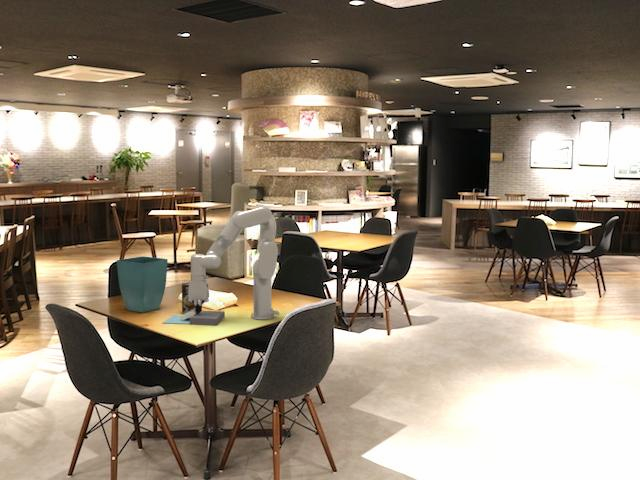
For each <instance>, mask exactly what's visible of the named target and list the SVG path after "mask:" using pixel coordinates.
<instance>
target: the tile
mask: <svg viewBox="0 0 640 480" xmlns="http://www.w3.org/2000/svg"><path fill="white" fill-rule="evenodd" d="M195 314H196V311H195V309H193V310H191V311H189V312H187V313H185V314H182V316H181V317H180V318H181V320H182V321H183V320H185V319H187V318H189V317H191V316H193V315H195Z"/></svg>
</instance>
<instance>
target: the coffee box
mask: <svg viewBox="0 0 640 480" xmlns="http://www.w3.org/2000/svg"><path fill="white" fill-rule="evenodd" d="M188 289H189V282H182V283H181V314H182V315H183V314H185V313H187V312H189V311H191V310H193V309H195V305H194V303H193V302H190V301H188V299H189V298H188ZM198 304H199V300H198Z"/></svg>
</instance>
